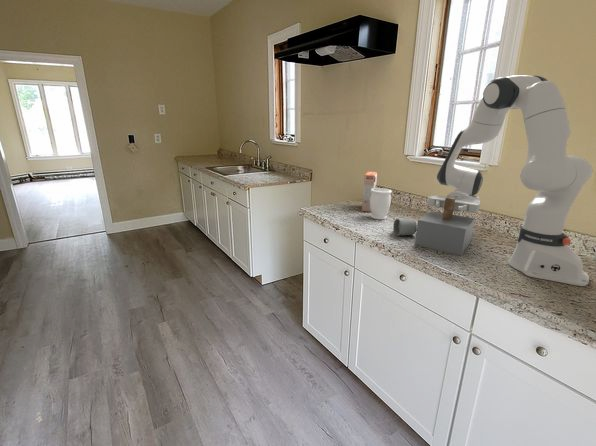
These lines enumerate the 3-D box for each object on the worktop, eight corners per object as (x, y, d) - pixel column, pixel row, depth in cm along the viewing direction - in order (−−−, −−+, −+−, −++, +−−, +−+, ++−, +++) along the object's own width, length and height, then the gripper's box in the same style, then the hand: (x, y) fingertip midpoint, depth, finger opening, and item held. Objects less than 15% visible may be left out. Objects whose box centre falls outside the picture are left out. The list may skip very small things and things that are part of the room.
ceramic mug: (416, 237, 141) (418, 220, 139) (399, 238, 140) (401, 221, 138) (405, 229, 151) (407, 214, 149) (389, 230, 150) (390, 214, 148)
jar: (364, 216, 170) (366, 189, 166) (376, 213, 177) (379, 186, 172) (381, 221, 162) (384, 192, 158) (392, 218, 169) (396, 190, 164)
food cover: (470, 242, 136) (479, 197, 130) (460, 255, 123) (470, 205, 116) (427, 233, 146) (434, 191, 140) (414, 244, 133) (421, 198, 127)
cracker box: (372, 212, 178) (375, 175, 172) (361, 211, 180) (364, 174, 174) (374, 206, 191) (377, 171, 184) (364, 205, 193) (367, 171, 186)
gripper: (433, 190, 144) (423, 195, 134) (483, 197, 132) (477, 203, 122) (431, 204, 146) (421, 210, 136) (481, 212, 134) (474, 219, 124)
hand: (448, 207), depth 129 cm, fingers open, 7 cm apart
